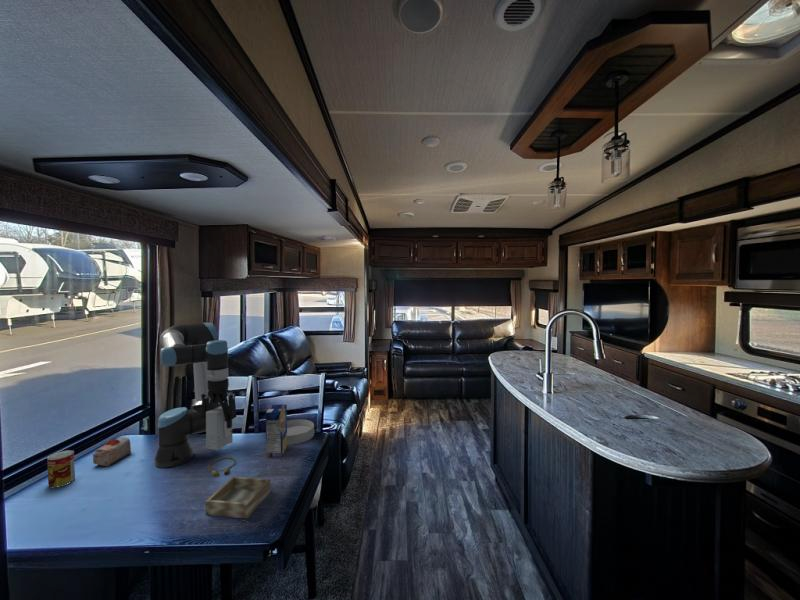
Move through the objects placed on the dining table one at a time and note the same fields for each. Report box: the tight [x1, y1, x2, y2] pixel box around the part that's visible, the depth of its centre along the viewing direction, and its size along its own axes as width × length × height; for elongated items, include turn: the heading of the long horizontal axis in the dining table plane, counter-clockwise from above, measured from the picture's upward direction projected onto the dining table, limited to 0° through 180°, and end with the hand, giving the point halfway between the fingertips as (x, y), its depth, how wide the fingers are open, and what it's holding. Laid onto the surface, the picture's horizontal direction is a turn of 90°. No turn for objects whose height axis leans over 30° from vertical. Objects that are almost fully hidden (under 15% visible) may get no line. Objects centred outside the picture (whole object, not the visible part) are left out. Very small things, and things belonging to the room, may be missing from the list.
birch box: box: [205, 476, 271, 519], centre depth 129 cm, size 16×16×5 cm
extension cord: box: [207, 456, 236, 477], centre depth 154 cm, size 12×16×2 cm
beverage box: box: [265, 404, 288, 459], centre depth 168 cm, size 7×11×22 cm, turn 4°
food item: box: [92, 436, 132, 467], centre depth 161 cm, size 14×8×10 cm, turn 177°
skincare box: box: [205, 406, 233, 451], centre depth 137 cm, size 8×6×15 cm
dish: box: [287, 418, 315, 446], centre depth 187 cm, size 22×22×5 cm
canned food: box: [46, 449, 76, 488], centre depth 142 cm, size 8×8×12 cm
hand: (219, 435), depth 137 cm, fingers closed on skincare box, 6 cm apart
